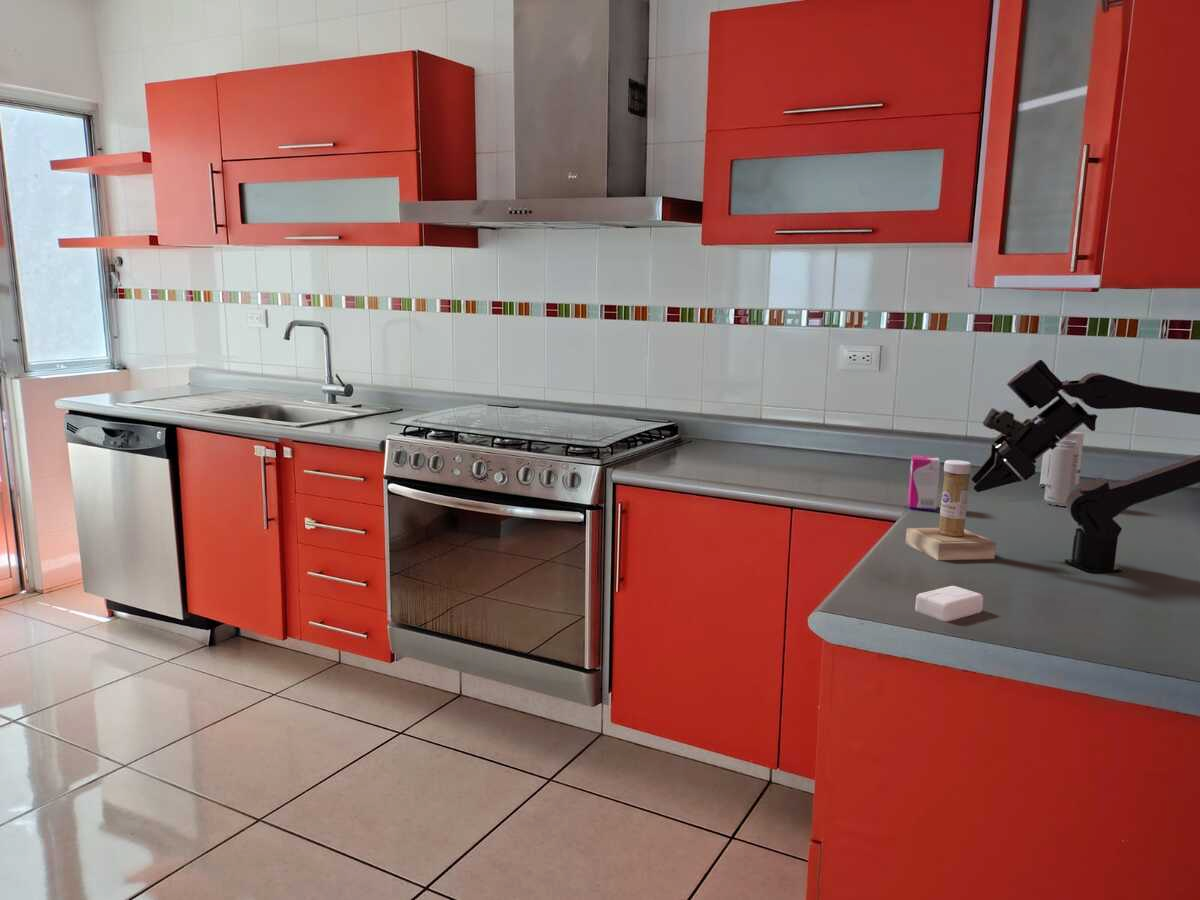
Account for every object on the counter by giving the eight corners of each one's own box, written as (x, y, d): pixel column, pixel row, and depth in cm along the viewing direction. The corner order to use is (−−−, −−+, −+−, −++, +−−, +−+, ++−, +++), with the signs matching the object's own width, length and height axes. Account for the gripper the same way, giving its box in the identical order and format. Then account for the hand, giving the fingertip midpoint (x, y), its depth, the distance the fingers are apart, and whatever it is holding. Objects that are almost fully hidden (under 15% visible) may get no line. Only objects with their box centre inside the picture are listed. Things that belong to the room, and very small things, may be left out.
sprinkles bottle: (932, 533, 163) (939, 460, 161) (947, 530, 165) (954, 458, 163) (955, 538, 159) (962, 464, 157) (969, 535, 162) (977, 462, 159)
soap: (950, 603, 134) (952, 583, 133) (983, 613, 129) (985, 594, 129) (912, 612, 129) (914, 592, 128) (946, 624, 124) (948, 603, 124)
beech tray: (994, 558, 158) (996, 541, 158) (937, 560, 156) (939, 542, 156) (958, 542, 169) (960, 526, 169) (905, 543, 167) (906, 527, 166)
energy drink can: (1044, 500, 212) (1051, 438, 210) (1073, 504, 209) (1080, 440, 207) (1042, 504, 207) (1049, 441, 205) (1071, 508, 204) (1079, 443, 202)
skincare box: (1060, 492, 223) (1066, 433, 221) (1037, 487, 229) (1043, 430, 226) (1079, 489, 228) (1086, 432, 226) (1056, 485, 233) (1063, 428, 231)
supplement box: (933, 506, 201) (938, 456, 200) (936, 511, 196) (941, 460, 194) (906, 504, 203) (911, 454, 201) (908, 509, 197) (913, 458, 196)
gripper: (1010, 389, 164) (942, 445, 169) (1019, 398, 147) (943, 459, 152) (1054, 435, 162) (983, 489, 168) (1068, 448, 145) (989, 508, 151)
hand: (974, 485), depth 160 cm, fingers open, 9 cm apart
